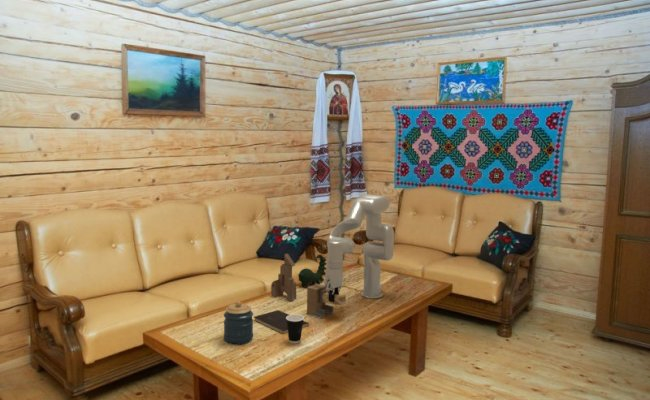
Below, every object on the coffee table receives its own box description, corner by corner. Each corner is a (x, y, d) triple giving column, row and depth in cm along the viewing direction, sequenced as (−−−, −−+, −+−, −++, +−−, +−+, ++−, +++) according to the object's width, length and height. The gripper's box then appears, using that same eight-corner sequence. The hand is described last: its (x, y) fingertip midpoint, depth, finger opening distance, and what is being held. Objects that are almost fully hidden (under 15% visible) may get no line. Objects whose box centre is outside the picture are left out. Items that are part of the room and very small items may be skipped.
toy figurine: (316, 281, 320) (291, 287, 300) (319, 252, 319) (293, 256, 299) (328, 284, 315) (303, 290, 295) (330, 254, 314) (305, 258, 294)
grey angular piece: (316, 309, 265) (316, 283, 263) (333, 313, 258) (334, 287, 256) (306, 313, 258) (307, 287, 256) (323, 318, 251) (324, 291, 250)
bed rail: (346, 303, 250) (346, 293, 250) (341, 306, 246) (341, 295, 246) (325, 300, 257) (325, 290, 257) (320, 302, 254) (320, 292, 253)
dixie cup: (303, 344, 220) (304, 320, 218) (285, 345, 219) (285, 320, 218) (303, 337, 227) (303, 314, 226) (285, 337, 227) (286, 314, 225)
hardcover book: (283, 335, 231) (283, 330, 231) (253, 321, 247) (253, 316, 247) (308, 326, 242) (308, 322, 242) (279, 313, 258) (279, 309, 258)
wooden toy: (270, 296, 285) (270, 253, 282) (278, 293, 290) (279, 251, 287) (290, 302, 275) (291, 257, 272) (298, 299, 281) (299, 255, 277)
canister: (255, 343, 220) (255, 305, 217) (225, 346, 216) (224, 307, 214) (250, 332, 232) (250, 295, 230) (222, 335, 228) (222, 297, 226)
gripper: (337, 260, 258) (336, 295, 261) (319, 266, 245) (318, 303, 247) (350, 263, 254) (348, 298, 256) (331, 269, 241) (330, 306, 243)
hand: (333, 300), depth 252 cm, fingers closed on bed rail, 3 cm apart
